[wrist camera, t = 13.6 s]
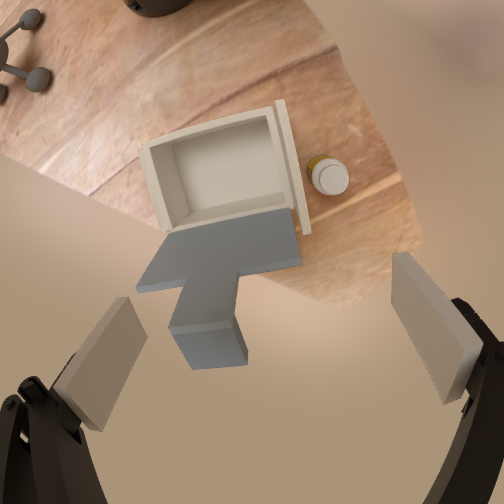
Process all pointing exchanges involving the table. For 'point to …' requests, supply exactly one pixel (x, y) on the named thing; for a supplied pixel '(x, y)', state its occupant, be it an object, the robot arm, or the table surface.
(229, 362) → the flap
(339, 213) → the table surface
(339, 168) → the supplement bottle
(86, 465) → the robot arm
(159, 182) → the carton
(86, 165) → the table surface
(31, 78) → the molecular model
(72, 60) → the table surface
